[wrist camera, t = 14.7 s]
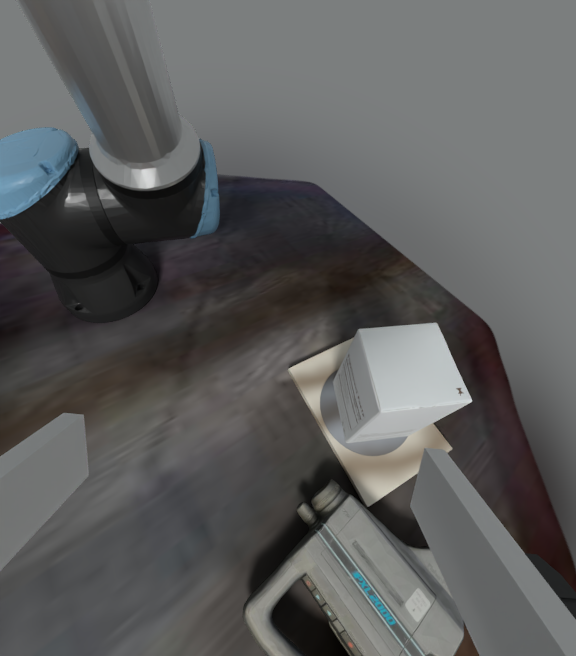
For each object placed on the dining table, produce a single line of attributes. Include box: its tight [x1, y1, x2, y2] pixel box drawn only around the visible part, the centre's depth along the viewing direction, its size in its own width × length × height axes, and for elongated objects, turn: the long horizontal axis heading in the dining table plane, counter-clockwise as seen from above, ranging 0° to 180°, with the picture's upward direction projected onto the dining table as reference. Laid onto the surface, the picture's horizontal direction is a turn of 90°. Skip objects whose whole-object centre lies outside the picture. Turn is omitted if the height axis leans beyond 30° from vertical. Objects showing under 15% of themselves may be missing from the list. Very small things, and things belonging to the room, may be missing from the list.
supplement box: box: [333, 323, 472, 443], centre depth 34 cm, size 9×9×15 cm
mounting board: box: [288, 338, 452, 507], centre depth 41 cm, size 20×14×1 cm
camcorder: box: [243, 479, 467, 656], centre depth 29 cm, size 16×21×5 cm
